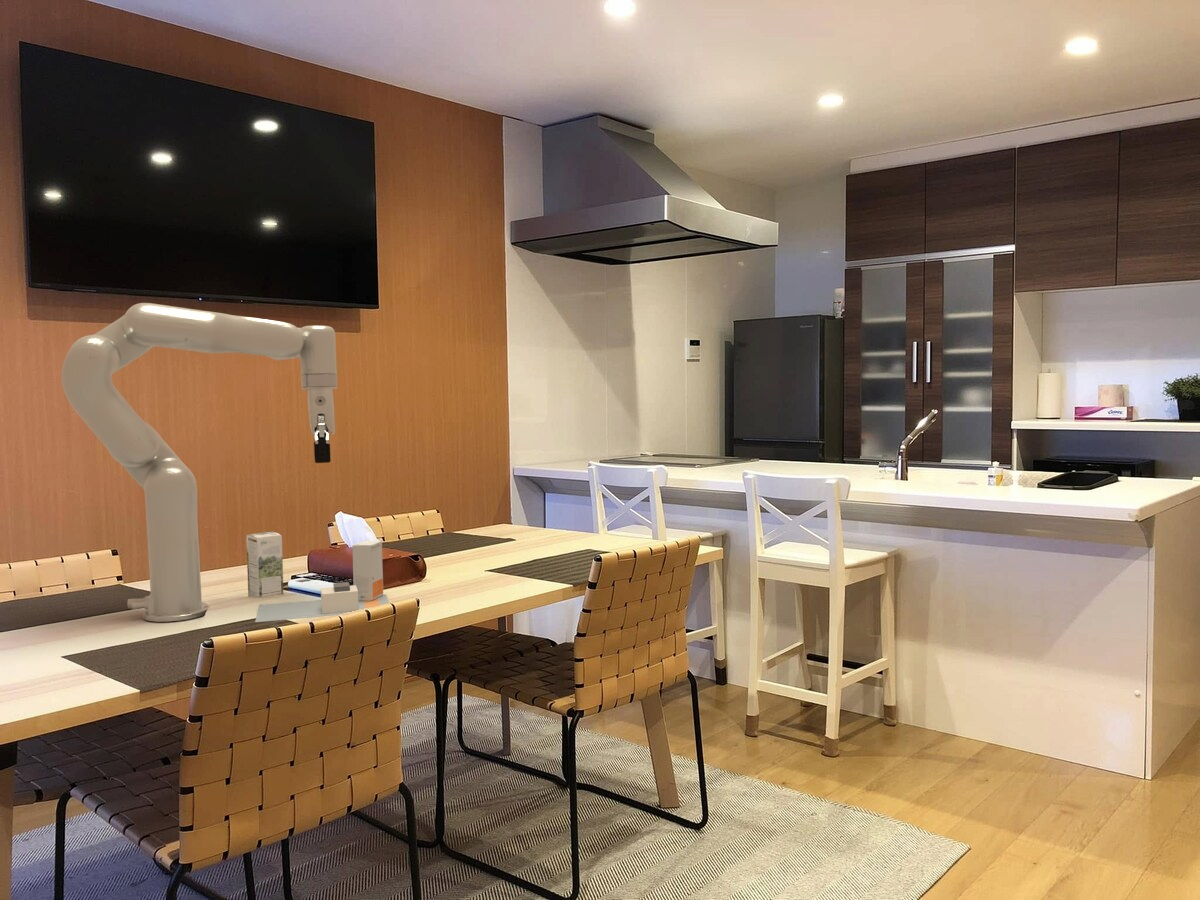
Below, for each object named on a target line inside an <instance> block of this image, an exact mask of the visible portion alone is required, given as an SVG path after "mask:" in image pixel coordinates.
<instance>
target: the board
mask: <svg viewBox="0 0 1200 900" xmlns="http://www.w3.org/2000/svg"><path fill="white" fill-rule="evenodd" d="M386 603H390V602H389V598H388V596H387V594H384V593H383V595H382V596H380V597H378V598H376V599H374V600H372V601H358V604H359V609H364V608H369V607H375V606H379V605H382V604H386ZM257 607H258V608H257V611H256V617H255V621H254V623H263V622H264V623H266V622H274V621H275V622H276V621H285V620H298V619H307V618H317V617H318V618H319V617H320V618H321V617H331V616H340V615H339V614H343V613H347V612H339V613H328V614H323V613H322V607H321V599H315V600H303V601H302V600H301V601H291V602H280V603H279V602H276V603H268V604H267V603H265V604H258V606H257ZM349 612H352V611H349ZM343 615H344V614H343Z"/></svg>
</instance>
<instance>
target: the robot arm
mask: <svg viewBox="0 0 1200 900" xmlns="http://www.w3.org/2000/svg"><path fill="white" fill-rule="evenodd" d="M336 344H337V343H336V332H335V329H334V328H333V327H332V326H329V325H305V326H302V327H297V326H296V325H294V324H292V323H290V322H285V321H280V320H279V321H278V320H272V319H265V318H257V317H250V316H242V315H234V314H233V315H232V314H228V313H222V312H215V311H208V310H202V309H193V308H188V307H179V306H174V305H173V306H171V305H166V304H158V303H151V302H140V303H136V304H134V305H131V307H129V308H128V309H127V310H126V312H125V314H123V315H122V316H121V317H119V318H118V319H116V320H114V321H113V322H111V323H110V324H109V325H107V326H105V327H104V328H102V329H101V330H99V331H97V332H95V333H94V334H89V335H85V336H82V337H80V338H78V339H77V340H76V341H74V342H73V344H72V345H71V347H70V348H69V350H68V352H67V354H66V356H65V358H64V361H63V363H62V364H63V365H62V369H61V385H62V390H63V392H64V395H65V397H66V399H67V401H68V403H69V405H71V408H72V409H73V410H74V411H75V412H76V414H77V415H78V416H79V418H80V419H81V420H82V421H83V422H84V423H85V424H86V426H87V427H88V429H90V431H91V432H92V434H94V435H95V437H96V438H97V439H98V440H99V441H100V442H101V443H102V445H103V446H104V447H105V448H106V449H107V451H108V452H109V454H110V456H111V458H113V460H115V461H116V462H117V463H119V464H120V465H121V466H122V467H123V468H124V470H125V471H126V472H127V473H128V475H130V476H131V477H132V478H133V479H134V480H135V481H136V483H137V484H138V485H139V486H140V487H141V488H142V490H144V502H145V519H146V538H147V549H148V552H147V553H148V554H147V555H148V568H149V569H148V571H149V587H150V594H149V595H147V596H144V597H143V598H128V599H127V609H129V610H130V609H132V610H140V609H144V610H145V611H143V613H142V615H143V616H142V617H143V618H142V619H144V620H145V621H147V622H148V621H149V622H155V623H157V622H158V623H159V622H160V623H161V622H163V623H165V622H167V623H168V622H170V623H171V622H178V621H185V620H191V619H195V618H199V617H203V616H205V615H206V613H207V611H208V609H209V608H210V607H211V606H210V604H209V603H205V602H203V601H202V600H203V599H202V582H201V562H200V561H201V560H200V543H199V540H200V539H199V523H198V522H199V521H198V517H199V516H198V484H197V480H196V477H195V475H194V474H193V472H192V471H191V469H190V468H189V467H188V466H187V465H186V464H185V463H184V462H183V461H182V460H181V459H180V457H179V456H178V455H177V454H176V453H175V451H173V449H172V448H171V447H170V446H169V445H168V443H167V442H166V441H165V440H164V439H163V438H162V437H161V435H160V434H159V433H158V432H157V430H155V428H154V427H153V426H152V425H151V424H149V423H148V422H146V421H145V420H144V419H142V417H141V416H140V415H139V414H138V413H137V412H136V411H135V409H133V407H131V405H130V404H129V403H128V401H127V399H126V398H125V397H124V396H123V395H122V394H121V393H120V392H119V391H118V389H117V388H116V387H115V385H114V381H113V377H112V376H113V374H115V373H117V372H119V370H122V369H123V368H124V367H126V366H127V365H129V364H130V363H131V362H132V363H133V361H136V360H137V359H138V358H141V356H142V355H144V354H146V353H148V351H150V350H151V349H153V348H155V347H159V348H166V349H167V348H168V349H174V350H175V349H176V350H183V351H189V352H190V351H191V352H192V351H193V352H198V353H206V354H227V353H234V354H236V353H237V354H248V355H257V356H264V357H268V358H270V359H272V360H277V361H284V360H291V359H292V360H293V359H299V360H300V361H299V362H300V383H301V390H302V391H304V390H305V391H307V392H306V393H307V408H308V410H307V411H308V419H309V420H308V421H309V425H310V426H309V427H310V431H311V432H310V433H311V434H312V435H313V436H314V442H313V450H314V453H313V455H314V463H316V464H327V463H331V461H332V460H331V443H330V441H329V438H330V437H329V432H330V434H331V435H334V434H336V427H335V425H336V424H335V423H336V422H335V405H334V404H335V403H334V393H333V390H338V370H337V366H338V365H337V345H336Z"/></svg>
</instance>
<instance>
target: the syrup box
mask: <svg viewBox="0 0 1200 900" xmlns="http://www.w3.org/2000/svg"><path fill="white" fill-rule="evenodd" d="M245 540H246V541H245V542H246V565H247V567H246V568H247V591H248V594H247V597H249V598H250V597H256V598H257V597H258V598H263V597H269V596H274V595H284V592H285V591H284V571H283V570H284V568H283V567H284V565H283V561H284V560H283V558H284V557H283V536H282V534H280V533H278V532H275V531H267V532H259V533H251V534H246V537H245Z"/></svg>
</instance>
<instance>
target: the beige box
mask: <svg viewBox="0 0 1200 900" xmlns="http://www.w3.org/2000/svg"><path fill="white" fill-rule="evenodd" d="M320 600H321V607H322V613H323V614H328V613H339V612H349V611H356V610H359V604H358V590H357V587H356V585H353V584H352V585H350V582H349V581H345V582H333V585H332V587H320Z"/></svg>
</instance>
